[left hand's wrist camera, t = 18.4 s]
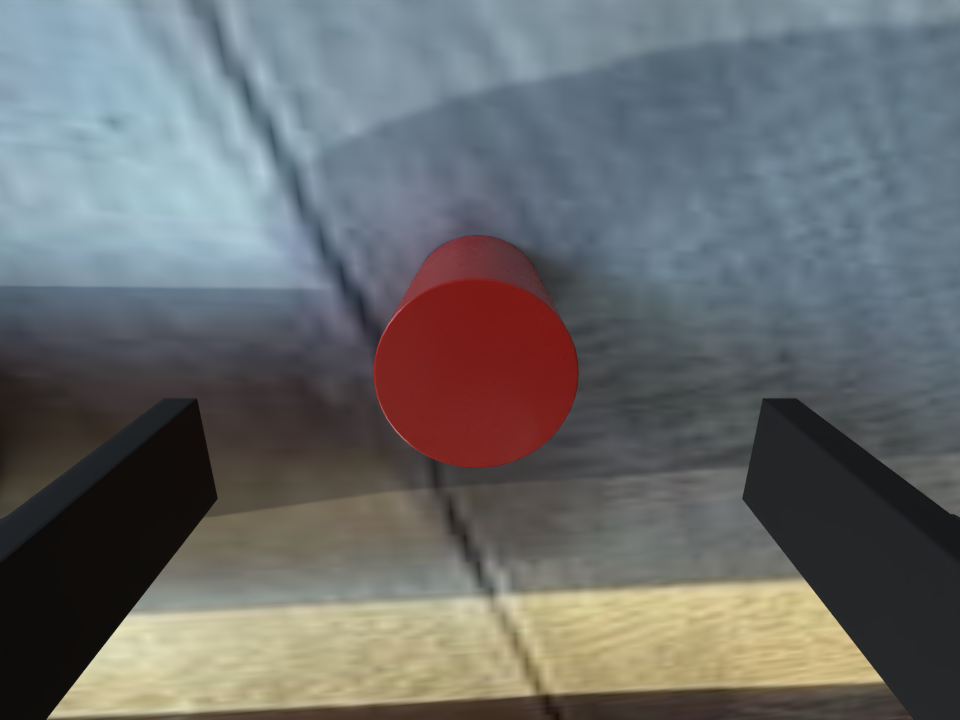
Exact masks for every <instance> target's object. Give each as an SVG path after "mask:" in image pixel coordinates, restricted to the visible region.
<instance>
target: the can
mask: <svg viewBox="0 0 960 720" xmlns="http://www.w3.org/2000/svg"><path fill="white" fill-rule="evenodd" d="M578 374H579V372H578V360H577V355H576V350H575V347H574V344H573V341H572V338H571V336H570V334H569V332H568V330H567V328H566V326H565V324H564V323H563V321H562V319H561V317H560V315H559V313H558V311H557V309H556V307H555V306H554V304H553V302H552V300H551V298H550V296H549V294H548V292H547V290H546V289H545V287H544V285H543V283H542V281H541V279H540V277H539V275H538V273H537V272H536V270H535V268H534V266H533V265H532V263H531V262H530V260H529V259H528V258H527V257H526V256H525V255H524V254H523V253H522V252H521V251H520V250H518V249H517V248H516V247H514V246H513V245H511V244H509V243H508V242H505V241H503V240H501V239H498V238H494V237H490V236H483V235H472V236H464V237H460V238H457V239H454V240H451V241H449V242H447V243H445V244H443V245H442V246H440V247H439V248H437V249H436V250H435V251H434V252H432V253H431V254H430V255H429V256H428V258H427V259H426V260H425V261H424V263H423V264H422V265H421V267H420V269H419V271H418V272H417V274H416V276H415V278H414V279H413V281H412V283H411V285H410V286H409V288H408V290H407V292H406V293H405V295H404V297H403V299H402V300H401V302H400V304H399V306H398V307H397V309H396V311H395V313H394V314H393V316H392V318H391V320H390V321H389V323H388V325H387V327H386V329H385V331H384V332H383V334H382V336H381V339H380V342H379V344H378V347H377V351H376V356H375V362H374V382H375V388H376V393H377V397H378V400H379V403H380V406H381V408H382V410H383V412H384V414H385V416H386V418H387V420H388V421H389V423H390V424H391V425H392V427H393V428H394V430H395V431H396V432H397V433H398V434H399V435H400V436H401V437H402V438H403V439H404V440H405V441H406V442H407V443H408V444H410V445H411V446H412V447H414V448H415V449H417V450H418V451H420V452H421V453H423V454H425V455H427V456H429V457H431V458H433V459H435V460H438V461H441V462H443V463H447V464H451V465H455V466H461V467H478V468H482V467H491V466H497V465H502V464H506V463H509V462H512V461H515V460H518V459H520V458H522V457H524V456H526V455H528V454H530V453H532V452H533V451H535V450H536V449H538V448H539V447H541V446H542V445H543V444H544V443H545V442H547V441H548V440H549V439H550V438H551V437H552V436H553V435H554V434H555V432H556V431H557V430H558V429H559V428H560V426H561V425H562V423H563V422H564V421H565V419H566V417H567V415H568V413H569V411H570V409H571V407H572V404H573V402H574V399H575V395H576V391H577V386H578Z"/></svg>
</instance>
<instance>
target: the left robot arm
mask: <svg viewBox="0 0 960 720" xmlns="http://www.w3.org/2000/svg"><path fill="white" fill-rule="evenodd" d="M217 499H218V498H217V493H216V489H215V484H214V479H213V474H212V469H211V464H210V459H209V455H208V450H207V445H206V440H205V435H204V430H203V425H202V421H201V416H200V411H199V406H198V401H197V399H163V400H161V401H160V402H159V403H157V404H156V405H155V406H153V407H152V408H151V409H149V410H148V411H147V412H145V413H144V414H143V415H141V416H140V417H139V418H137V419H136V420H135V421H133V422H132V423H131V424H129V425H128V426H127V427H125V428H124V429H123V430H121V431H120V432H119V433H117V434H116V435H115V436H113V437H112V438H111V439H109V440H108V441H107V442H105V443H104V444H103V445H101V446H100V447H99V448H97V449H96V450H95V451H93V452H92V453H91V454H89V455H88V456H87V457H85V458H84V459H83V460H81V461H80V462H79V463H77V464H76V465H75V466H73V467H72V468H71V469H69V470H68V471H67V472H65V473H64V474H63V475H61V476H60V477H59V478H57V479H56V480H55V481H53V482H52V483H51V484H49V485H48V486H47V487H45V488H44V489H43V490H41V491H40V492H39V493H37V494H36V495H35V496H33V497H32V498H31V499H29V500H28V501H27V502H25V503H24V504H23V505H21V506H20V507H19V508H17V509H16V510H15V511H13V512H12V513H11V514H9V515H8V516H6V517H4V518H2V519H0V720H46V719H47V718H48V716H49V715H50V714H51V713H52V711H53V710H54V709H55V707H56V706H57V705H58V704H59V702H60V701H61V700H62V698H63V697H64V696H65V695H66V693H67V692H68V691H69V689H70V688H71V687H72V686H73V684H74V683H75V682H76V680H77V679H78V678H79V677H80V675H81V674H82V673H83V671H84V670H85V669H86V668H87V666H88V665H89V664H90V662H91V661H92V660H93V659H94V657H95V656H96V655H97V653H98V652H99V651H100V650H101V648H102V647H103V646H104V644H105V643H106V642H107V641H108V639H109V638H110V637H111V635H112V634H113V633H114V632H115V630H116V629H117V628H118V626H119V625H120V624H121V623H122V621H123V620H124V619H125V617H126V616H127V615H128V614H129V612H130V611H131V610H132V608H133V607H134V606H135V605H136V603H137V602H138V601H139V599H140V598H141V597H142V596H143V594H144V593H145V592H146V590H147V589H148V588H149V587H150V585H151V584H152V583H153V581H154V580H155V579H156V578H157V576H158V575H159V574H160V572H161V571H162V570H163V569H164V567H165V566H166V565H167V563H168V562H169V561H170V560H171V558H172V557H173V556H174V554H175V553H176V552H177V551H178V549H179V548H180V547H181V545H182V544H183V543H184V542H185V540H186V539H187V538H188V536H189V535H190V534H191V533H192V531H193V530H194V529H195V527H196V526H197V525H198V524H199V522H200V521H201V520H202V518H203V517H204V516H205V515H206V513H207V512H208V511H209V509H210V508H211V507H212V506H213V504H214V503H215V502H216V500H217ZM742 499H743V500H744V502H745V503H746V504H747V506H748V507H749V508H750V509H751V511H752V512H753V513H754V515H755V516H756V517H757V518H758V520H759V521H760V522H761V524H762V525H763V526H764V527H765V529H766V530H767V531H768V533H769V534H770V535H771V536H772V538H773V539H774V540H775V542H776V543H777V544H778V545H779V547H780V548H781V549H782V551H783V552H784V553H785V554H786V556H787V557H788V558H789V560H790V561H791V562H792V563H793V565H794V566H795V567H796V569H797V570H798V571H799V572H800V574H801V575H802V576H803V578H804V579H805V580H806V581H807V583H808V584H809V585H810V587H811V588H812V589H813V590H814V592H815V593H816V594H817V596H818V597H819V598H820V599H821V601H822V602H823V603H824V605H825V606H826V607H827V608H828V610H829V611H830V612H831V614H832V615H833V616H834V617H835V619H836V620H837V621H838V623H839V624H840V625H841V626H842V628H843V629H844V630H845V632H846V633H847V634H848V635H849V637H850V638H851V639H852V641H853V642H854V643H855V644H856V646H857V647H858V648H859V650H860V651H861V652H862V653H863V655H864V656H865V657H866V659H867V660H868V661H869V662H870V664H871V665H872V666H873V668H874V669H875V670H876V671H877V673H878V674H879V675H880V677H881V678H882V679H883V680H884V682H885V683H886V684H887V686H888V687H889V688H890V689H891V691H892V692H893V693H894V695H895V696H896V697H897V698H898V700H899V701H900V702H901V704H902V705H903V706H904V707H905V709H906V710H907V711H908V713H909V714H910V715H911V716H912V718H913V719H914V720H960V517H958V516H956V515H954V514H949V513H948V512H947V511H945V510H944V509H943V508H941V507H940V506H939V505H937V504H936V503H935V502H933V501H932V500H931V499H929V498H928V497H927V496H925V495H924V494H923V493H921V492H920V491H919V490H917V489H916V488H915V487H913V486H912V485H911V484H909V483H908V482H907V481H905V480H904V479H903V478H901V477H900V476H899V475H897V474H896V473H895V472H893V471H892V470H891V469H889V468H888V467H887V466H885V465H884V464H883V463H881V462H880V461H879V460H877V459H876V458H875V457H873V456H872V455H871V454H869V453H868V452H867V451H865V450H864V449H863V448H861V447H860V446H859V445H857V444H856V443H855V442H853V441H852V440H851V439H849V438H848V437H847V436H845V435H844V434H843V433H841V432H840V431H839V430H837V429H836V428H835V427H833V426H832V425H831V424H829V423H828V422H827V421H825V420H824V419H823V418H821V417H820V416H819V415H817V414H816V413H815V412H813V411H812V410H811V409H809V408H808V407H807V406H805V405H804V404H803V403H801V402H800V401H799V400H797V399H763V401H762V406H761V411H760V416H759V421H758V425H757V430H756V435H755V440H754V445H753V450H752V455H751V459H750V464H749V469H748V474H747V479H746V484H745V489H744V493H743V498H742Z"/></svg>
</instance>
